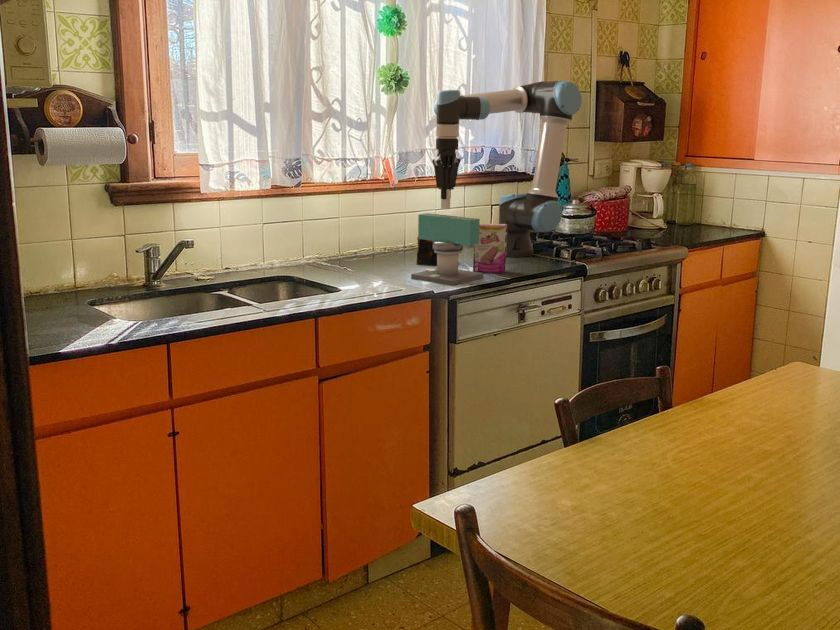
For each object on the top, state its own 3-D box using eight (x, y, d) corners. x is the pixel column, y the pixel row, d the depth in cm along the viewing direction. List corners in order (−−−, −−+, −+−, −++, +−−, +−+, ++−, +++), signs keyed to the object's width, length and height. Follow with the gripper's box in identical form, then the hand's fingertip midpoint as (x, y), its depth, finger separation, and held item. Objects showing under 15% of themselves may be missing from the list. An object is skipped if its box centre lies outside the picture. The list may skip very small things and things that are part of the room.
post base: (442, 271, 290) (443, 243, 287) (483, 277, 279) (484, 249, 277) (411, 278, 277) (411, 249, 275) (452, 285, 267) (453, 256, 264)
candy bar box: (472, 272, 288) (474, 224, 284) (473, 270, 292) (474, 222, 288) (505, 273, 286) (507, 225, 283) (505, 270, 291) (507, 223, 287)
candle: (416, 264, 301) (416, 237, 299) (426, 260, 310) (426, 233, 308) (442, 267, 298) (443, 238, 295) (452, 262, 307) (452, 235, 304)
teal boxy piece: (432, 243, 286) (432, 212, 283) (483, 250, 273) (484, 218, 271) (413, 247, 278) (413, 215, 276) (465, 254, 266) (465, 221, 263)
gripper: (450, 137, 287) (448, 206, 293) (426, 137, 277) (424, 209, 283) (467, 137, 283) (465, 208, 288) (444, 138, 273) (442, 211, 278)
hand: (445, 208), depth 286 cm, fingers closed
